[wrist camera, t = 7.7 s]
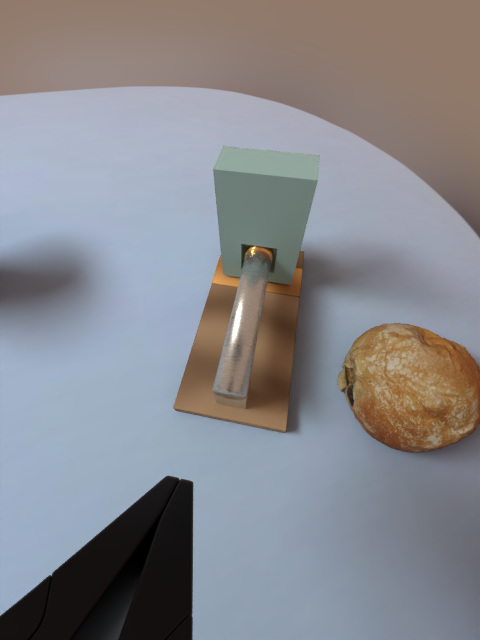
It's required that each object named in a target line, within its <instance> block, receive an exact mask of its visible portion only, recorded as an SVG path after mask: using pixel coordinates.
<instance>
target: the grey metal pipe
mask: <svg viewBox="0 0 480 640" xmlns="http://www.w3.org/2000/svg"><path fill="white" fill-rule="evenodd" d="M274 249H275V248H269V247H261V246H254V245H247V249H246V253H245V257H244V258H245V260H244V264H243V268H242V272H241V276H240V281H239V285H238V289H237V293H236V297H235V301H234V305H233V309H232V313H231V317H230V321H229V325H228V329H227V333H226V337H225V341H224V345H223V349H222V353H221V357H220V361H219V365H218V369H217V373H216V377H215V381H214V385H213V389H212V392H213V395H214V398H215V401H216V403H217V404H222V405H227V406H232V407H237V408H242V409H246V405H247V399H248V394H249V385H250V375H251V369H252V364H253V358H254V353H255V347H256V342H257V336H258V331H259V325H260V320H261V314H262V309H263V303H264V298H265V292H266V287H267V281H268V276H269V270H270V265H271V263H272V259H273V253H274Z"/></svg>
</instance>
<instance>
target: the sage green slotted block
mask: <svg viewBox="0 0 480 640" xmlns="http://www.w3.org/2000/svg"><path fill="white" fill-rule="evenodd" d="M319 158H320V155H311V154H301V153H290V152H280V151H270V150H260V149H249V148H239V147H229V146H223V147H222V150H221V152H220V155H219V157H218V159H217V162H216V164H215V166H214V169H213V171H214V182H215V193H216V204H217V214H218V225H219V236H220V246H221V257H222V268H223V275H227V276H234V277H240V276H241V272H242V268H243V264H244V260H245V258H244V257H245V253H246V249H247V245H254V246H261V247H269V248H276V249H277V251H276V250H274V253H273V259H272V263H271V265H270V270H269V276H268V282H275V283H281V284H288V285H291V284H292V280H293V276H294V272H295V268H296V264H297V260H298V256H299V252H300V248H301V244H302V240H303V236H304V232H305V228H306V224H307V221H308V217H309V213H310V209H311V205H312V201H313V197H314V193H315V189H316V185H317V181H318V170H319Z"/></svg>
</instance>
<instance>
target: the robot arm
mask: <svg viewBox="0 0 480 640" xmlns="http://www.w3.org/2000/svg"><path fill="white" fill-rule="evenodd" d="M192 601H193V482H192V481H189V480H185V479H181V480H180V479H179V478H176V477H172V476H166V477H165V478H163V479H162V480H161V481H160V482H159V483H158V484H156V485H155V486H154V487H153V488H152V489H151V490H149V491H148V492H147V493H146V494H145V495H143V496H142V497H141V498H140V499H139V500H138V501H136V502H135V503H134V504H133V505H132V506H131V507H129V508H128V509H127V510H126V511H125V512H123V513H122V514H121V515H120V516H119V517H118V518H116V519H115V520H114V521H113V522H112V523H111V524H109V525H108V526H107V527H106V528H105V529H103V530H102V531H101V532H100V533H99V534H98V535H96V536H95V537H94V538H93V539H92V540H91V541H89V542H88V543H87V544H86V545H85V546H83V547H82V548H81V549H80V550H79V551H78V552H76V553H75V554H74V555H73V556H72V557H71V558H69V559H68V560H67V561H66V562H65V563H63V564H62V565H61V566H60V567H59V568H58V569H56V570H55V571H54V572H53V574H52V576H51V575H49V576H48V577H47V578H46V579H44V580H43V581H42V582H41V583H40V584H39V585H37V586H36V587H35V588H34V589H33V590H31V591H30V592H29V593H28V594H27V595H25V596H24V597H23V598H22V599H20V600H19V601H18V602H17V603H16V604H14V605H13V606H12V607H11V608H9V609H8V610H7V611H6V612H5V613H3V614H2V615H1V616H0V640H192V626H193V618H192Z"/></svg>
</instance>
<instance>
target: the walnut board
mask: <svg viewBox="0 0 480 640" xmlns="http://www.w3.org/2000/svg"><path fill="white" fill-rule="evenodd" d="M274 250H276V251H277V249H276V248H275V249H274ZM303 258H304V252H303V251H300V252H299V256H298V260H297V264H296V268H295V272H294V276H293V280H292V284H291V285H288V284H281V283H275V282H268V281H267V287H266V292H265V298H264V303H263V309H262V314H261V320H260V325H259V331H258V336H257V342H256V347H255V353H254V358H253V364H252V369H251V375H250V385H249V394H248V399H247V405H246V409H242V408H237V407H232V406H227V405H222V404H217V403H216V401H215V398H214V395H213V392H212V389H213V385H214V381H215V377H216V373H217V369H218V365H219V361H220V357H221V353H222V349H223V345H224V341H225V337H226V333H227V329H228V325H229V321H230V317H231V313H232V309H233V305H234V301H235V297H236V293H237V289H238V285H239V281H240V277H234V276H227V275H223V268H222V257H221V256H220V258H219V261H218V265H217V268H216V271H215V274H214V277H213V281H212V285H211V288H210V292H209V295H208V298H207V301H206V304H205V308H204V311H203V314H202V317H201V320H200V324H199V327H198V330H197V333H196V336H195V340H194V343H193V346H192V349H191V352H190V356H189V359H188V362H187V365H186V369H185V372H184V375H183V378H182V381H181V385H180V388H179V391H178V394H177V397H176V401H175V404H174V407H173V408H174V409H175V410H176V411H180V412H185V413H190V414H195V415H200V416H204V417H209V418H214V419H219V420H224V421H229V422H234V423H239V424H243V425H248V426H253V427H258V428H263V429H268V430H273V431H278V432H282V433H284V432H285V431H286V425H287V415H288V405H289V395H290V385H291V376H292V366H293V356H294V346H295V336H296V327H297V317H298V307H299V297H300V289H301V279H302V268H303Z"/></svg>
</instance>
